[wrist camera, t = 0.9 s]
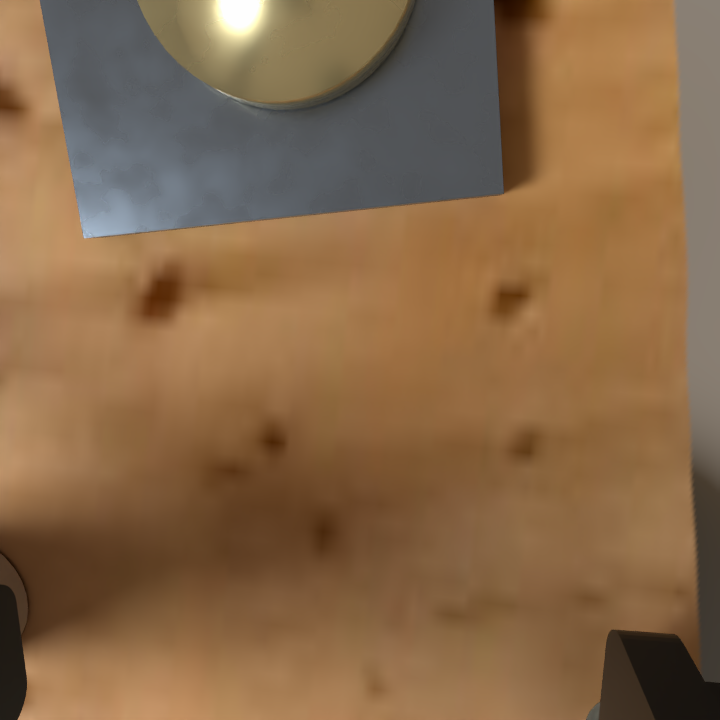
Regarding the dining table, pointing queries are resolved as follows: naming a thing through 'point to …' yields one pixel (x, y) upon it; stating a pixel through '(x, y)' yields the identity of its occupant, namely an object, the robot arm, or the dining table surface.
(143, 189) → the plate
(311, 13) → the post on brass disc
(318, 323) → the dining table surface
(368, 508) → the dining table surface
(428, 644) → the dining table surface
